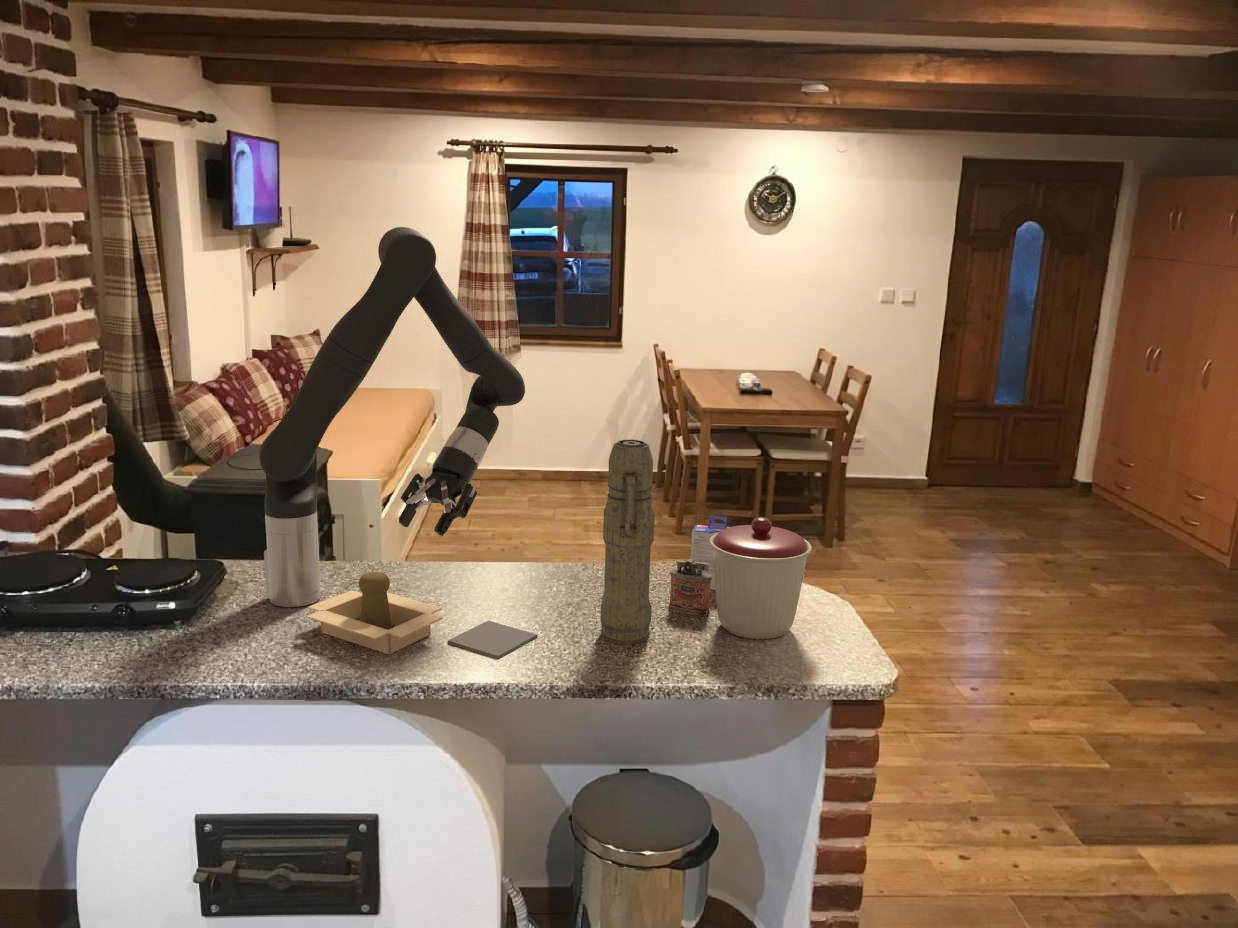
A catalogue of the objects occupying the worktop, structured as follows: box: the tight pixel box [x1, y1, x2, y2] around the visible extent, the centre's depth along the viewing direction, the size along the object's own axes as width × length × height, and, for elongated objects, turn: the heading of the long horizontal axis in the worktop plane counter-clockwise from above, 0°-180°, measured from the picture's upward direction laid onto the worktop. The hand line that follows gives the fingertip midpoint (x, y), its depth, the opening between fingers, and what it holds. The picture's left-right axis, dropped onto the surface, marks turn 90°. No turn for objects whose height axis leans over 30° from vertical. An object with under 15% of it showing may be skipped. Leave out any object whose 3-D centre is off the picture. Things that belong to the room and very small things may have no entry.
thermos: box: [599, 439, 656, 645], centre depth 170 cm, size 9×12×35 cm
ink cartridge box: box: [690, 514, 731, 591], centre depth 198 cm, size 10×6×14 cm, turn 78°
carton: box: [305, 589, 444, 655], centre depth 171 cm, size 22×16×4 cm
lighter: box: [668, 558, 712, 616], centre depth 185 cm, size 8×3×10 cm, turn 68°
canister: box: [710, 516, 813, 640], centre depth 176 cm, size 18×18×21 cm
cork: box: [358, 571, 394, 630], centre depth 170 cm, size 6×6×11 cm
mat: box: [447, 620, 538, 660], centre depth 170 cm, size 11×11×1 cm
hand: (420, 529), depth 177 cm, fingers open, 8 cm apart
